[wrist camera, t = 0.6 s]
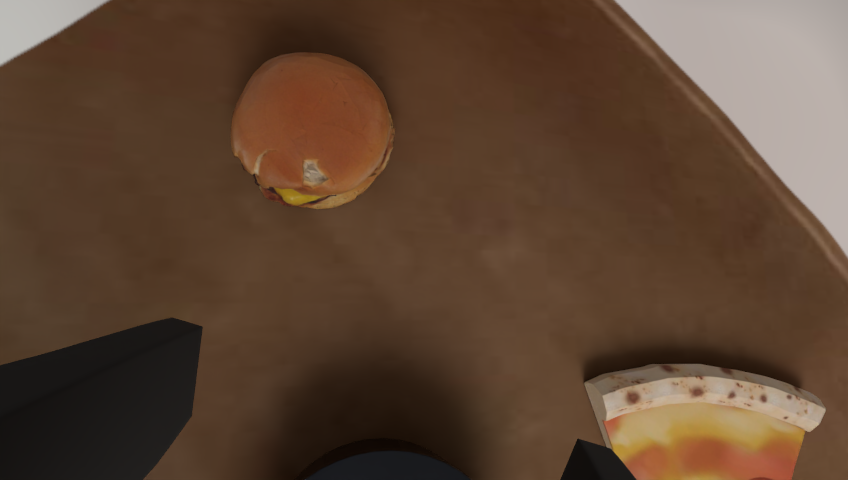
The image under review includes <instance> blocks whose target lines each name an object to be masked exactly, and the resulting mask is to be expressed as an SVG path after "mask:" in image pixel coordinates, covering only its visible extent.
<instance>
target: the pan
mask: <svg viewBox="0 0 848 480" xmlns="http://www.w3.org/2000/svg"><path fill="white" fill-rule="evenodd" d="M388 448H394V449H405V450H412V451H417V452H421V453H425V454H428V455H431V456H434V457H436V458H439V459H441V460H443V459H442V458H441V457H440V456H438V455H437V454H435V453H433V452H432V451H430V450H428V449H426V448H424V447H421V446H419V445H416V444H414V443H410V442H406V441H402V440H396V439H385V438H383V439H368V440H362V441H357V442H353V443H350V444H347V445H344V446H341V447H339V448H337V449H335V450H333V451H330V452H328V453H326V454H325V455H323V456H322V457H320V458H319V459H317V460H316V461H314V462H313V463H311V464H310V465H309V466H308V467H307V468H305V469H304V470H303V471H302V472H301V473H300V474H299V475H298V476H297V477H296V478H295V479H294V480H301V479H303V478H304V477H306V476H307V475H309V474H310V473H312V472H313V471H315V470H316V469H318V468H319V467H321V466H324V465H326V464H328V463H330V462H332V461H334V460H336V459H338V458H341V457H344V456H347V455H350V454H353V453H357V452H362V451H367V450H373V449H388ZM444 461H445V460H444ZM445 462H446V461H445Z"/></svg>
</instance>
